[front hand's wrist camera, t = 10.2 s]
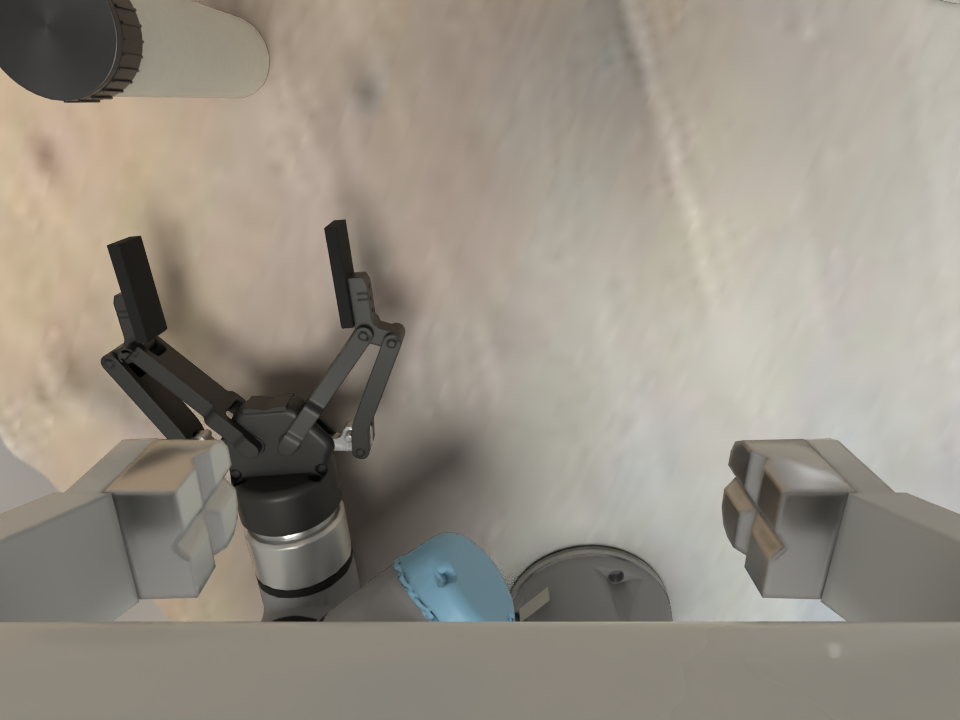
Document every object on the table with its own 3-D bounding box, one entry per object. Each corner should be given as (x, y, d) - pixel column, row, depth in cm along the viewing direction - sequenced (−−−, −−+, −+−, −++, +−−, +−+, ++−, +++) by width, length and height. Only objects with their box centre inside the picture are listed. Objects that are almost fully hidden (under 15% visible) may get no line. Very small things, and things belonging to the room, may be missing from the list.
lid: (20, -74, 25) (-18, -88, 23) (159, -8, 25) (133, -16, 24) (0, 67, 27) (-37, 64, 25) (129, 124, 27) (103, 126, 26)
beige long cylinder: (204, 0, 41) (-3, -74, 23) (279, 36, 41) (131, -10, 24) (185, 77, 42) (-21, 62, 25) (257, 110, 43) (105, 117, 26)
